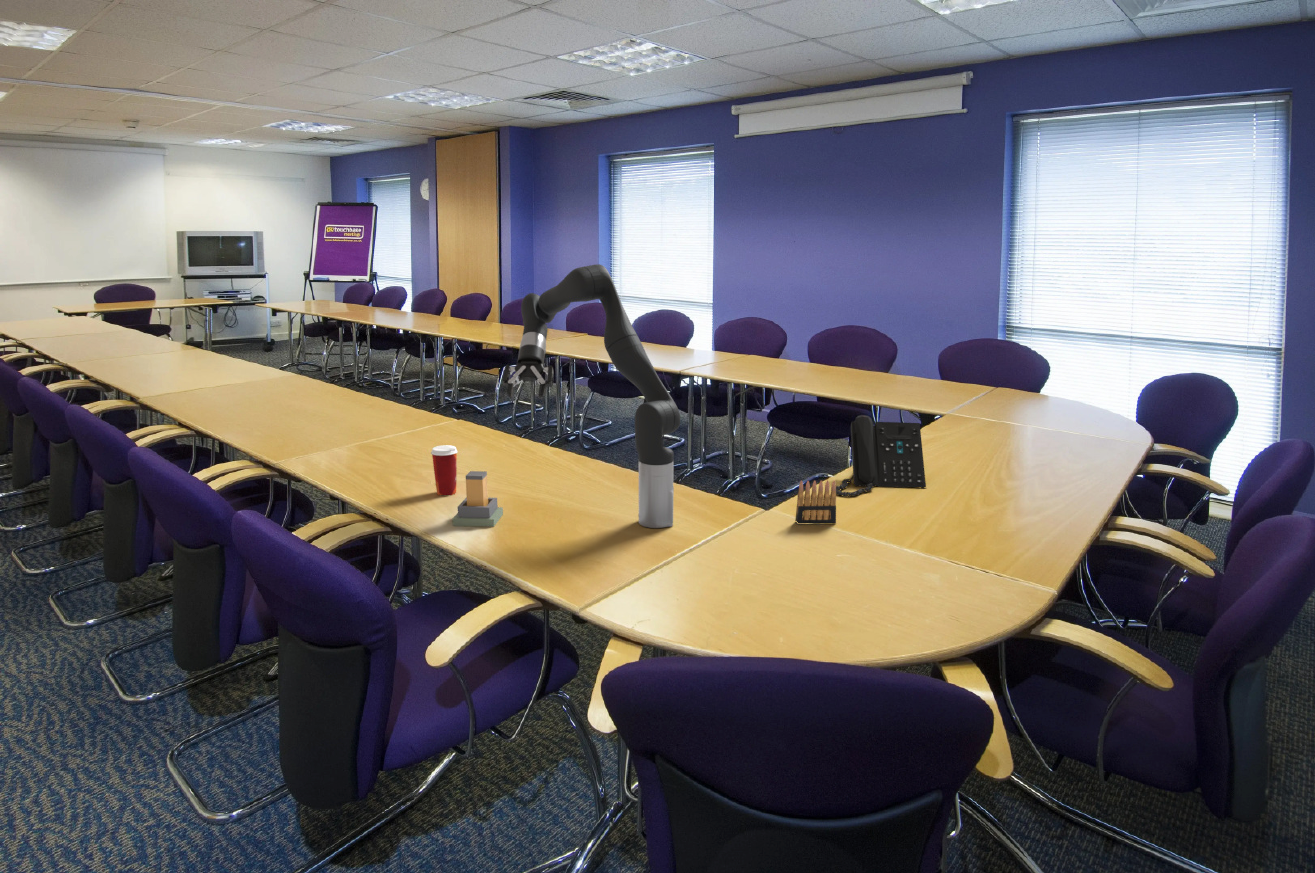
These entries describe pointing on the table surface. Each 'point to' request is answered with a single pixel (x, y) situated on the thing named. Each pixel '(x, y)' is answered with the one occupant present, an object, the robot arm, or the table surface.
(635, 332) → the robot arm
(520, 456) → the table surface
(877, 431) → the office phone
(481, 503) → the grey-capped square pillar
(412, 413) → the table surface
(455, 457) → the paper cup
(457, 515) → the grey square tray
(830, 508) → the ammunition clip
